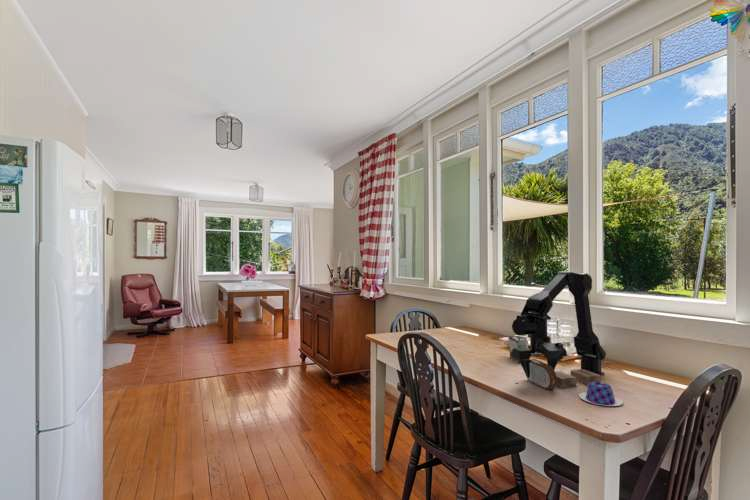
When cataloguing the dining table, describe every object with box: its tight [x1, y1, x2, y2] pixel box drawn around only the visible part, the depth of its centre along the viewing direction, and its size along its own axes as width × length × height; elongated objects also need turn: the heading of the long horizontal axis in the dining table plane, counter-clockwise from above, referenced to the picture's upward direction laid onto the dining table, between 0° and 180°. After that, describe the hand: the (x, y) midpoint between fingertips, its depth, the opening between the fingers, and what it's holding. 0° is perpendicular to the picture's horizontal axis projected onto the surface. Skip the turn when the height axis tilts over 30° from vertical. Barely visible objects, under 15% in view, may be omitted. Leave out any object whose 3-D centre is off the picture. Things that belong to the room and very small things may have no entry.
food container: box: [508, 334, 529, 364], centre depth 164 cm, size 12×6×10 cm, turn 179°
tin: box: [525, 358, 558, 390], centre depth 131 cm, size 15×3×8 cm, turn 13°
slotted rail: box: [555, 368, 602, 388], centre depth 134 cm, size 16×8×3 cm, turn 102°
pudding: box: [578, 381, 624, 407], centre depth 117 cm, size 12×12×5 cm
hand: (539, 376), depth 131 cm, fingers open, 9 cm apart
